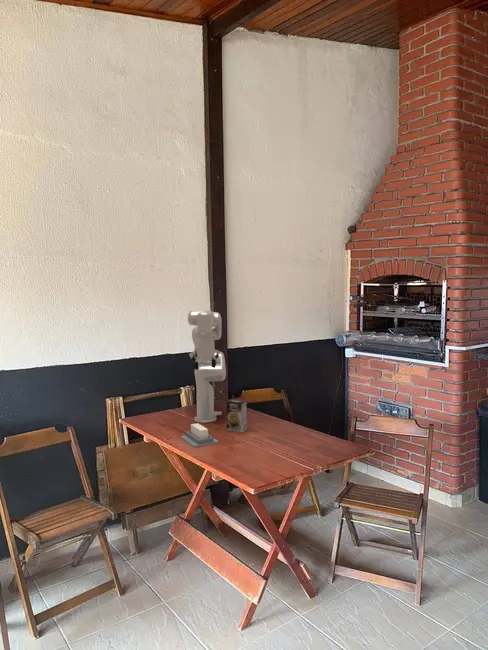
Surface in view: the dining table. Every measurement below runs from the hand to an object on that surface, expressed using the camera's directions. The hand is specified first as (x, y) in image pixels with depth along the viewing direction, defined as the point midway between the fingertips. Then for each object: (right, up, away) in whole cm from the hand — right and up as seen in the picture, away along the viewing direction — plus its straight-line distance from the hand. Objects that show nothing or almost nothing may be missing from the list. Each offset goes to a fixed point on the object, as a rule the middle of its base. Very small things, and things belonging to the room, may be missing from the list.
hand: (205, 368), depth 276 cm
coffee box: (+16, -33, +3) cm, 37 cm away
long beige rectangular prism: (-2, -34, -13) cm, 36 cm away
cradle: (-2, -35, -13) cm, 37 cm away
